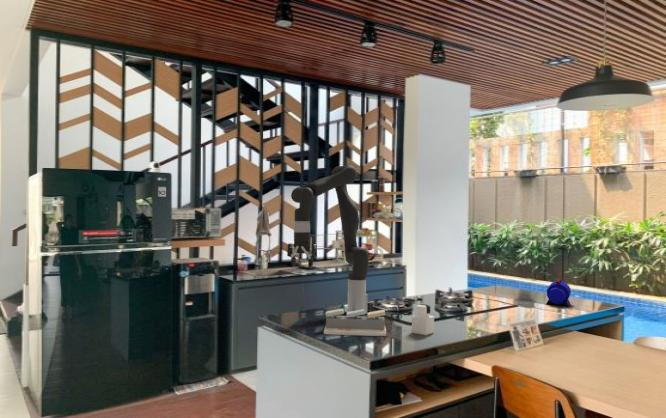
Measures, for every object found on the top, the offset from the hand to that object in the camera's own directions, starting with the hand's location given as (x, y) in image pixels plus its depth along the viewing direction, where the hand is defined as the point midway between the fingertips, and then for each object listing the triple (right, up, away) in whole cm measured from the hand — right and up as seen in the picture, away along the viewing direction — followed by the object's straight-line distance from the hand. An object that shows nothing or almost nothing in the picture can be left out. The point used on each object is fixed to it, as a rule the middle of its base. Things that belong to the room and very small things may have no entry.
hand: (301, 266), depth 235 cm
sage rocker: (+15, -20, -11) cm, 28 cm away
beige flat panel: (+33, -21, -12) cm, 41 cm away
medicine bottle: (+53, -27, -14) cm, 61 cm away
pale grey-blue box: (+24, -21, -12) cm, 34 cm away
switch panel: (+24, -26, -14) cm, 38 cm away
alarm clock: (+144, -29, +61) cm, 159 cm away
